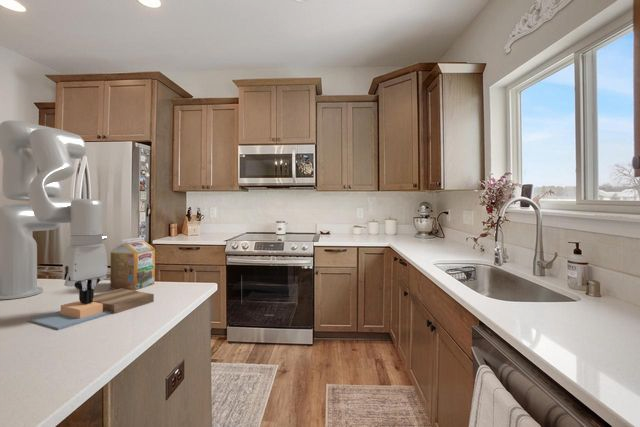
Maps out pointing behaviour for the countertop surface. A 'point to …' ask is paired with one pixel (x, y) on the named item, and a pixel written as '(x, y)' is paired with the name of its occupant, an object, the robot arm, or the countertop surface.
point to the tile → (81, 309)
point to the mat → (64, 319)
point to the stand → (122, 299)
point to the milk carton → (132, 265)
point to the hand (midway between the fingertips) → (86, 302)
